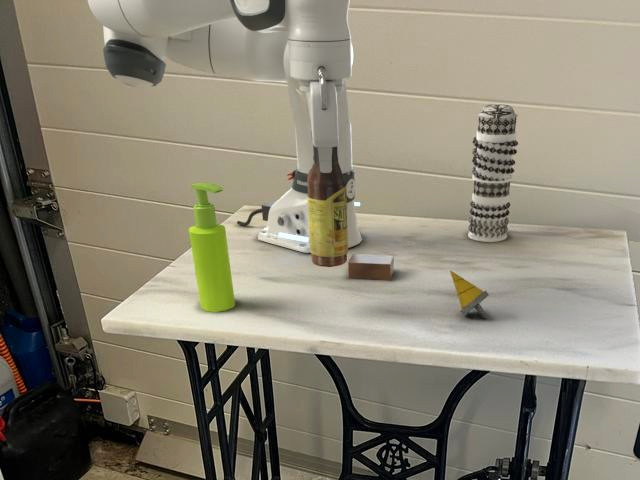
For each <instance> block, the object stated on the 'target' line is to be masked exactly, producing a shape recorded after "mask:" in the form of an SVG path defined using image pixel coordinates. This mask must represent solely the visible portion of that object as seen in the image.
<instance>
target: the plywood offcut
mask: <svg viewBox="0 0 640 480" xmlns="http://www.w3.org/2000/svg"><path fill="white" fill-rule="evenodd" d="M394 263H395V256H394V255H388V254H387V255H385V254H365V253H364V254H359V253H352V255H351V256H350V258H349V261H347V267H348V268H347V269H348V279H357V280H360V279H361V280H378V281H379V280H380V281H391V279H392V277H393V275H394V270H395V269H394V265H395V264H394Z"/></svg>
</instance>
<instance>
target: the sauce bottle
mask: <svg viewBox="0 0 640 480" xmlns="http://www.w3.org/2000/svg"><path fill="white" fill-rule="evenodd" d="M311 136H312V130H311ZM313 155H314V156H313V160H314V163H313V166H312V168H311V169H310V171H309V174H308V179H307V186H308V195H307V200H308V219H309V240H310V252H311V253H310V259H311V262H312V264H313V265H315V266H318V267H323V268H333V267H340V266H342V265H344V264H346V263H347V262H348V252H349V248H348V232H347V187H346V183H345V180H344V177H343V174H342V171H341V168H340V165H339V162H338V153H337V146H336V147H332V171H331V172H330V173H322V172H321V171H320V161H319V152H318V147H315V146H314V145H313Z"/></svg>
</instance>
